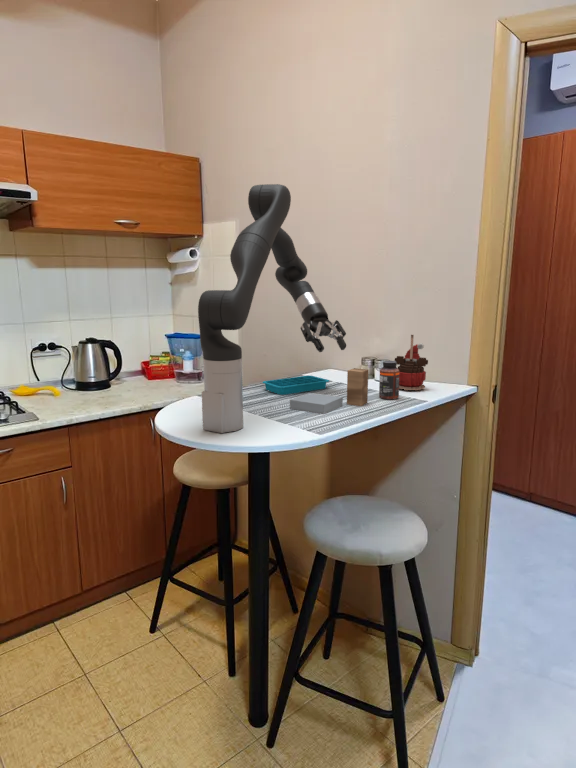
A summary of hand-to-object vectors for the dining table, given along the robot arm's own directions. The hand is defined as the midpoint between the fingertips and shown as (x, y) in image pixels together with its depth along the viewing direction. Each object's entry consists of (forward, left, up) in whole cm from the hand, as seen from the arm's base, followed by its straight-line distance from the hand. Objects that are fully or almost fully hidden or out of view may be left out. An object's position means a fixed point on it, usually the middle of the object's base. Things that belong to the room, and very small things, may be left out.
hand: (333, 349), depth 158 cm
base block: (-15, -3, -15) cm, 21 cm away
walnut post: (-5, -11, -15) cm, 19 cm away
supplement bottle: (+7, -16, -15) cm, 23 cm away
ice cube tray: (+3, +15, -15) cm, 22 cm away
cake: (+23, -17, -15) cm, 32 cm away
